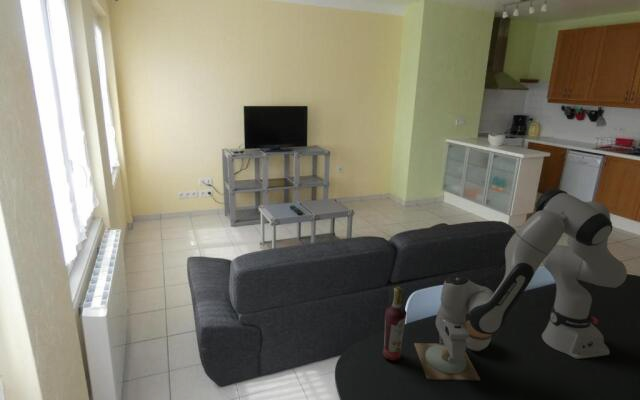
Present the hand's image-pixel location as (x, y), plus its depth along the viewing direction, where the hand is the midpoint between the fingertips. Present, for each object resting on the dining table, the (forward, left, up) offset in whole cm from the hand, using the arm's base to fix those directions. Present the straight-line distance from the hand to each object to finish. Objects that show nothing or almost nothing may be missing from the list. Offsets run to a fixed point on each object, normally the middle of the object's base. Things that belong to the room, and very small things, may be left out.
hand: (446, 352), depth 136 cm
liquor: (+19, -2, -4) cm, 19 cm away
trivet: (0, 0, -4) cm, 4 cm away
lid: (0, 0, -3) cm, 3 cm away
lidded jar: (-14, -9, -4) cm, 17 cm away
